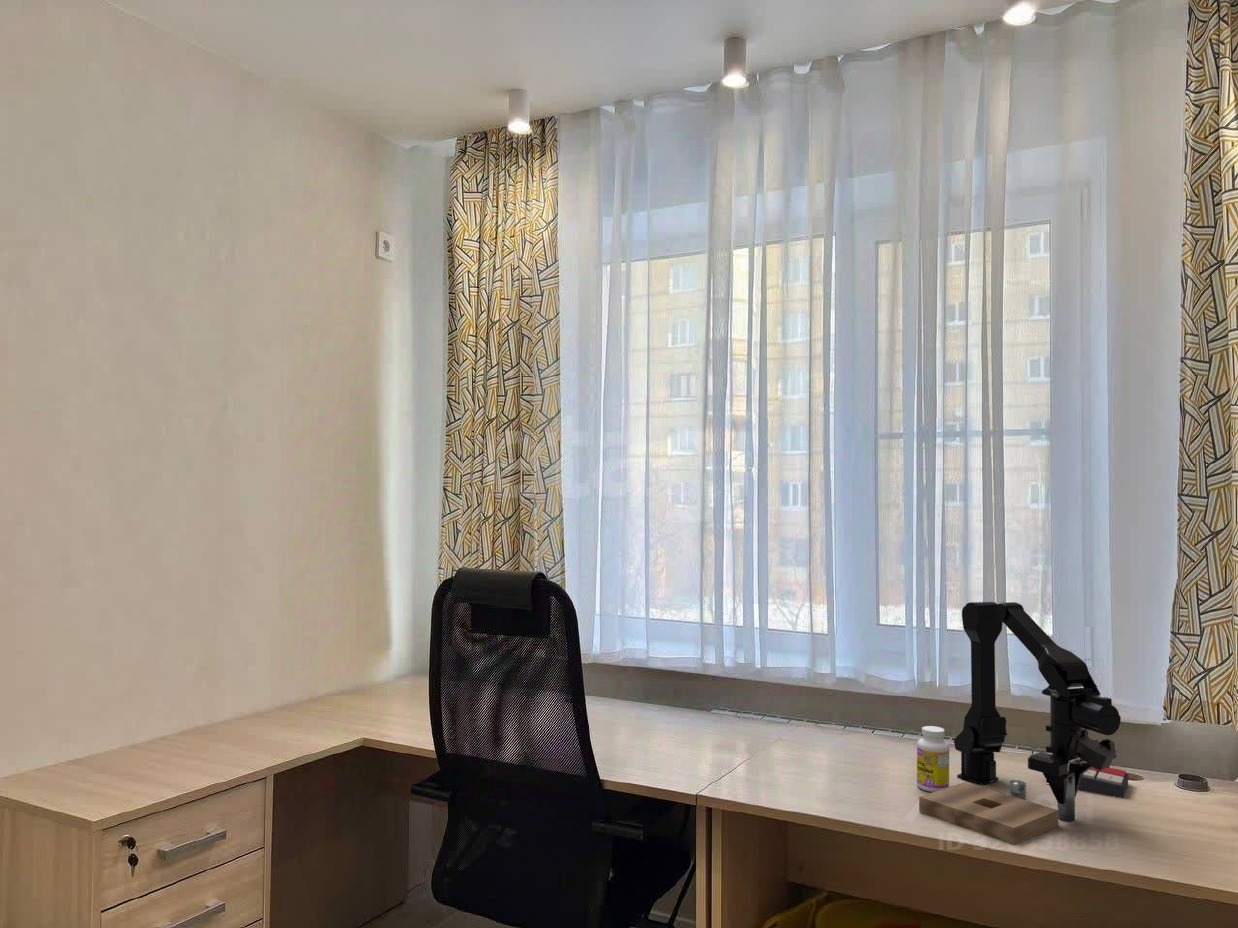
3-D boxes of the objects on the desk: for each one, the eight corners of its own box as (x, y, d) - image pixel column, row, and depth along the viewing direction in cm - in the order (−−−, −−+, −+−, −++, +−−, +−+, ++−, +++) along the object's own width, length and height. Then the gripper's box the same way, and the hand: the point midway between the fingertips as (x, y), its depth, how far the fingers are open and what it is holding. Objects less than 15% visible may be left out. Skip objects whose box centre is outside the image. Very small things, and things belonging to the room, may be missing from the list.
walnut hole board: (919, 811, 178) (919, 796, 179) (964, 796, 188) (964, 781, 188) (1014, 844, 162) (1014, 827, 162) (1058, 825, 172) (1058, 809, 172)
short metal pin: (1007, 803, 184) (1007, 781, 184) (1015, 800, 186) (1015, 778, 186) (1021, 807, 182) (1021, 785, 182) (1028, 804, 183) (1028, 782, 184)
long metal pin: (1055, 818, 176) (1054, 772, 176) (1062, 814, 178) (1062, 769, 178) (1070, 822, 174) (1070, 776, 174) (1077, 819, 175) (1077, 773, 176)
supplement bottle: (910, 785, 195) (910, 726, 195) (933, 781, 197) (933, 723, 198) (932, 794, 189) (932, 733, 189) (956, 791, 191) (956, 730, 192)
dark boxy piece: (1124, 782, 188) (1046, 765, 197) (1122, 802, 188) (1045, 784, 197) (1129, 769, 197) (1054, 753, 206) (1127, 789, 197) (1053, 772, 206)
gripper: (1084, 738, 164) (1084, 823, 164) (1130, 724, 175) (1131, 803, 175) (1026, 725, 173) (1026, 806, 173) (1074, 712, 184) (1074, 788, 184)
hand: (1066, 801), depth 176 cm, fingers open, 4 cm apart
